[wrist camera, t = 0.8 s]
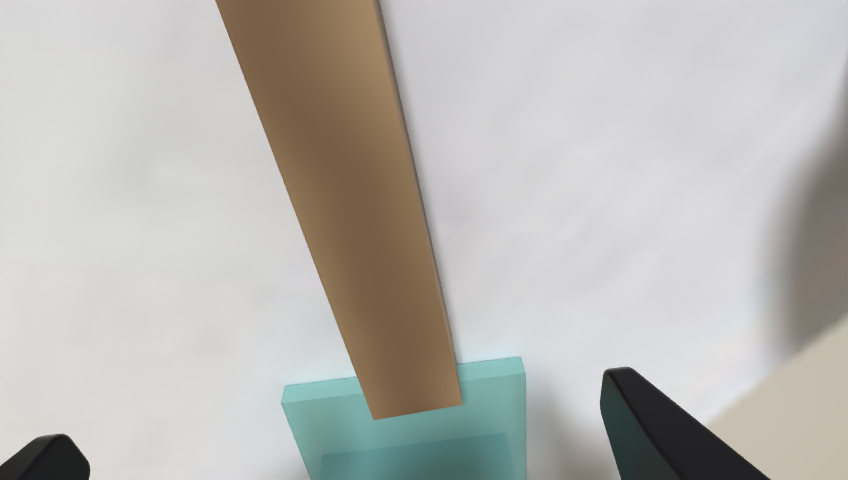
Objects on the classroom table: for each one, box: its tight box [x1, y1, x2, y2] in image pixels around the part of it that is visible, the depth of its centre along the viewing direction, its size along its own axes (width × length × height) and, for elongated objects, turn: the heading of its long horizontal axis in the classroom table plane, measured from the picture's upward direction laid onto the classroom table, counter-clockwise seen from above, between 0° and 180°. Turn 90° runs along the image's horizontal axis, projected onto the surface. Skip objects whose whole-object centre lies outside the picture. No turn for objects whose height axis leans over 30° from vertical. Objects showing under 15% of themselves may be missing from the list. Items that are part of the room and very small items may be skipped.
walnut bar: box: [215, 0, 463, 420], centre depth 16 cm, size 4×18×4 cm, turn 11°
